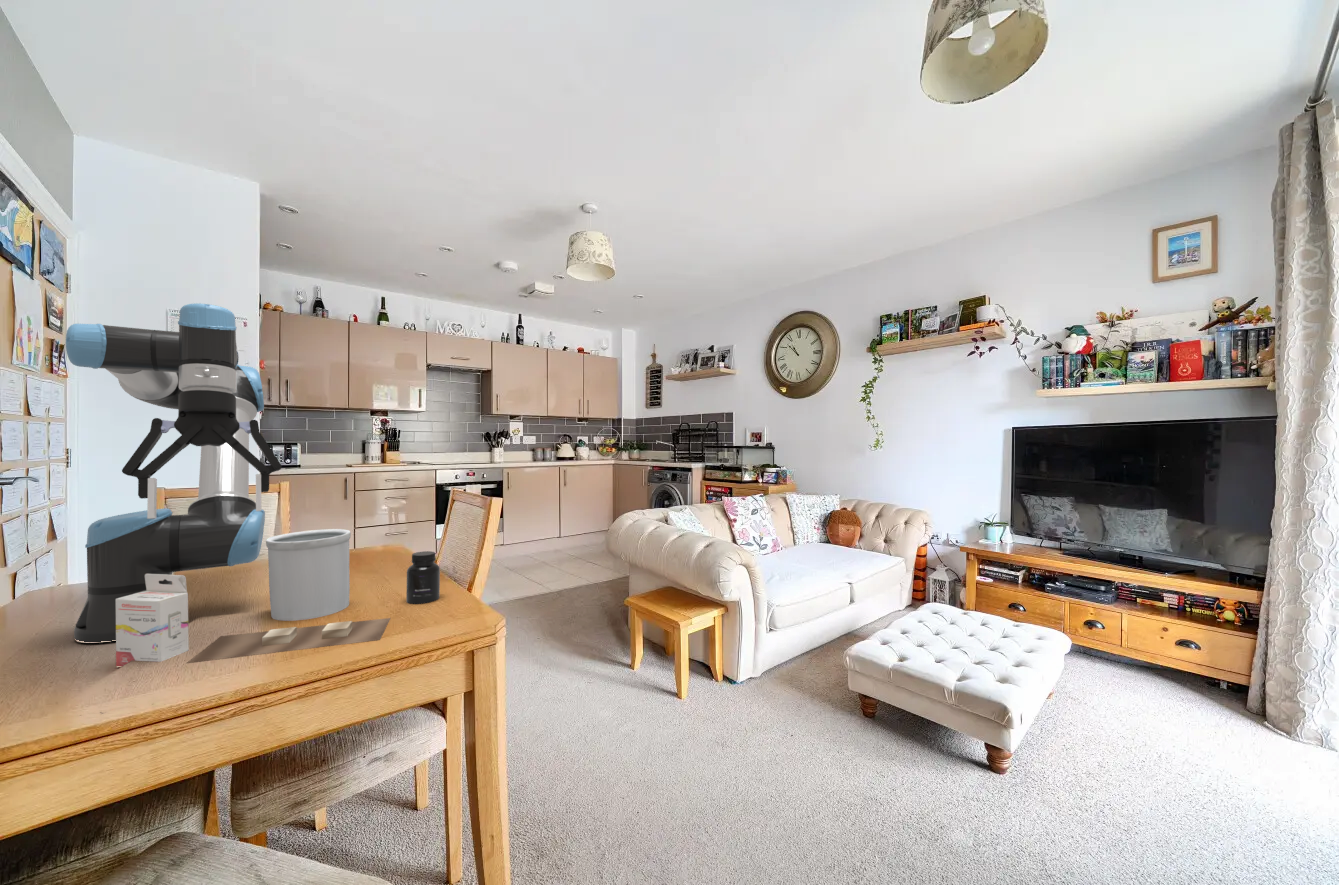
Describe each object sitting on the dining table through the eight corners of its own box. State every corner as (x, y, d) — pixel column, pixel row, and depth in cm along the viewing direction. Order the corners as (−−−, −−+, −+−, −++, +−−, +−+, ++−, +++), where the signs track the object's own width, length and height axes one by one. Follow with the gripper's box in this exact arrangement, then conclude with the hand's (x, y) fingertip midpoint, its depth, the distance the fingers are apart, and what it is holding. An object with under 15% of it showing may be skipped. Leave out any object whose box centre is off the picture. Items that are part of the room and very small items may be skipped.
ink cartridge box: (113, 669, 85) (112, 580, 85) (146, 656, 90) (145, 572, 90) (159, 671, 85) (158, 582, 84) (190, 658, 89) (189, 574, 89)
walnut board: (186, 672, 84) (185, 663, 84) (220, 644, 95) (220, 636, 95) (379, 648, 94) (379, 639, 94) (390, 625, 105) (390, 617, 105)
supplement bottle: (418, 613, 112) (417, 558, 112) (400, 607, 116) (399, 554, 116) (446, 604, 118) (446, 552, 118) (428, 599, 122) (428, 548, 122)
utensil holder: (249, 623, 106) (249, 538, 106) (321, 601, 120) (320, 526, 120) (298, 633, 101) (297, 544, 101) (367, 609, 115) (366, 530, 115)
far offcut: (321, 639, 94) (321, 630, 94) (328, 631, 98) (328, 623, 98) (347, 636, 96) (347, 628, 96) (352, 628, 99) (352, 620, 99)
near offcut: (262, 646, 91) (262, 637, 91) (270, 637, 95) (270, 629, 95) (289, 642, 92) (289, 634, 92) (296, 634, 96) (296, 626, 96)
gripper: (98, 383, 80) (94, 521, 78) (296, 392, 95) (298, 507, 93) (108, 393, 86) (106, 522, 83) (294, 400, 101) (296, 509, 99)
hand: (207, 514), depth 88 cm, fingers open, 13 cm apart
